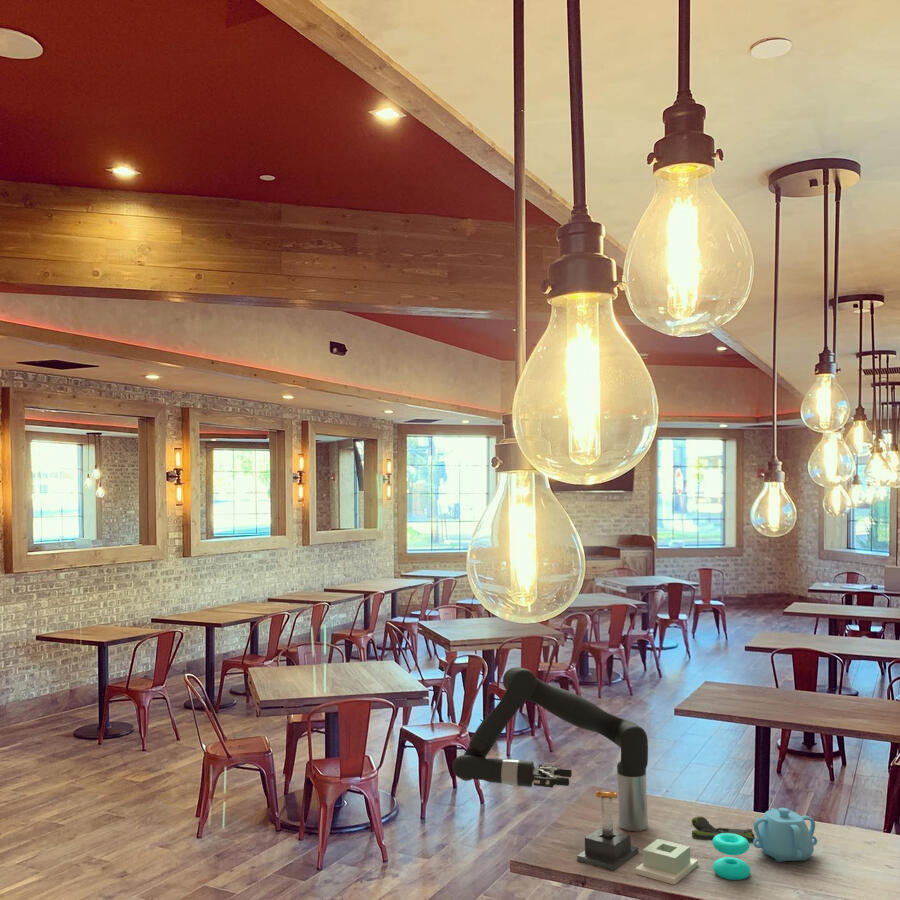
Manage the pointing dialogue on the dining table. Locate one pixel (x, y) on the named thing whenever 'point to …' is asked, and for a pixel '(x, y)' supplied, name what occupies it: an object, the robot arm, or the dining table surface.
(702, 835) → the gun
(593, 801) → the dining table surface
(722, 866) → the donuts
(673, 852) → the pale green socket base
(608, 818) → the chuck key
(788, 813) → the decorative pot
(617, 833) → the block
